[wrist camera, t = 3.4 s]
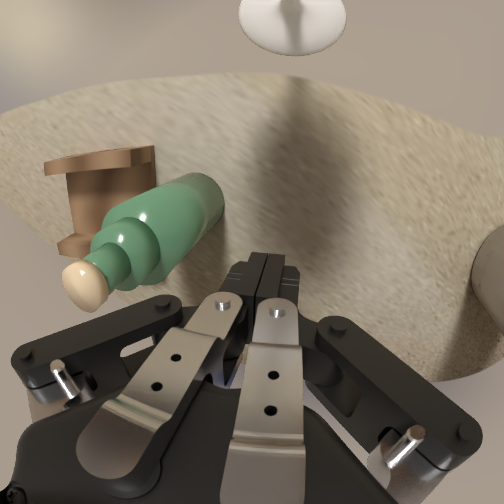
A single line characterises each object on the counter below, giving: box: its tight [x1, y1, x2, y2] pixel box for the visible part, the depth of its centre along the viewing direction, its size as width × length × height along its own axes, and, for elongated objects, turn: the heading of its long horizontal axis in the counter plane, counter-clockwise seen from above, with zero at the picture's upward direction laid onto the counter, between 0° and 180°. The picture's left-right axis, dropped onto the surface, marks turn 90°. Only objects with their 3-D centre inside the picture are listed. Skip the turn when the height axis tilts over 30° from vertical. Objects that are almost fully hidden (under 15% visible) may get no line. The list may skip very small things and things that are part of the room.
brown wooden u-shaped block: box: [44, 145, 156, 259], centre depth 24 cm, size 12×10×4 cm
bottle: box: [62, 173, 224, 313], centre depth 17 cm, size 5×5×15 cm
